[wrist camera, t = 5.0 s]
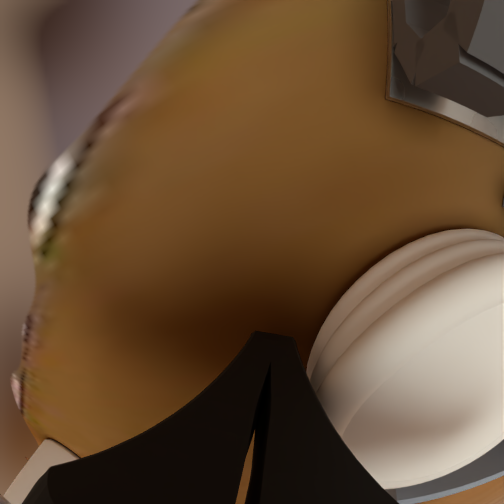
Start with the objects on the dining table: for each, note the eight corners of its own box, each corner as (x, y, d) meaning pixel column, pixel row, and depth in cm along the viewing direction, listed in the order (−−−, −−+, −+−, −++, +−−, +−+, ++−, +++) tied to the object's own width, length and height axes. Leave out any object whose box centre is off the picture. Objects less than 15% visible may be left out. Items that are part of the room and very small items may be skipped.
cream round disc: (288, 432, 11) (281, 497, 8) (329, 203, 8) (354, 237, 4) (467, 421, 10) (486, 468, 6) (549, 242, 6) (602, 273, 3)
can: (43, 441, 19) (-3, 505, 8) (49, 431, 17) (-8, 509, 6) (88, 477, 20) (49, 544, 9) (103, 473, 18) (56, 555, 6)
